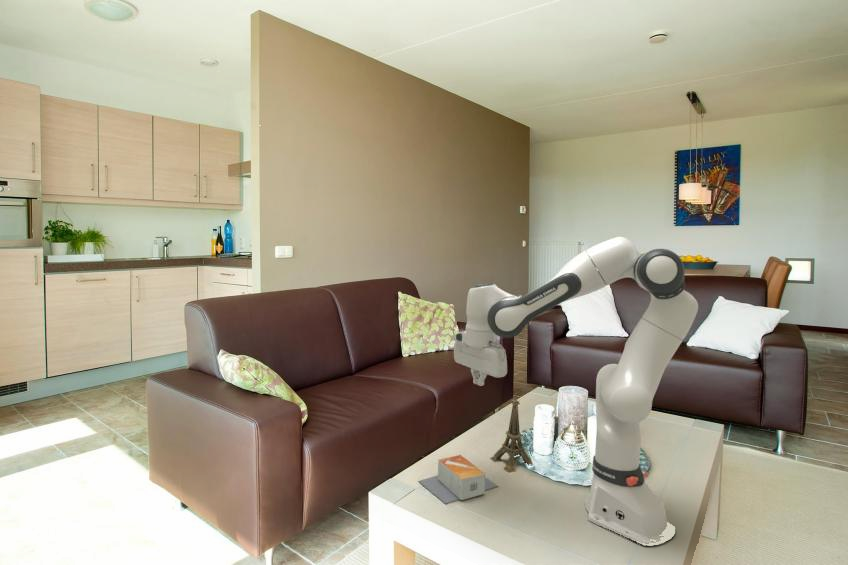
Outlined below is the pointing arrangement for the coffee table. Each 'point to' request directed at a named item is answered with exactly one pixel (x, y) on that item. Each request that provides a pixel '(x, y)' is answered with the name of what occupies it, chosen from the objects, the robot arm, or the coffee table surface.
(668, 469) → the coffee table surface
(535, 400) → the coffee table surface
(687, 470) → the coffee table surface
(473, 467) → the small box
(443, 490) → the slate mat
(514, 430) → the eiffel tower
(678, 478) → the coffee table surface
